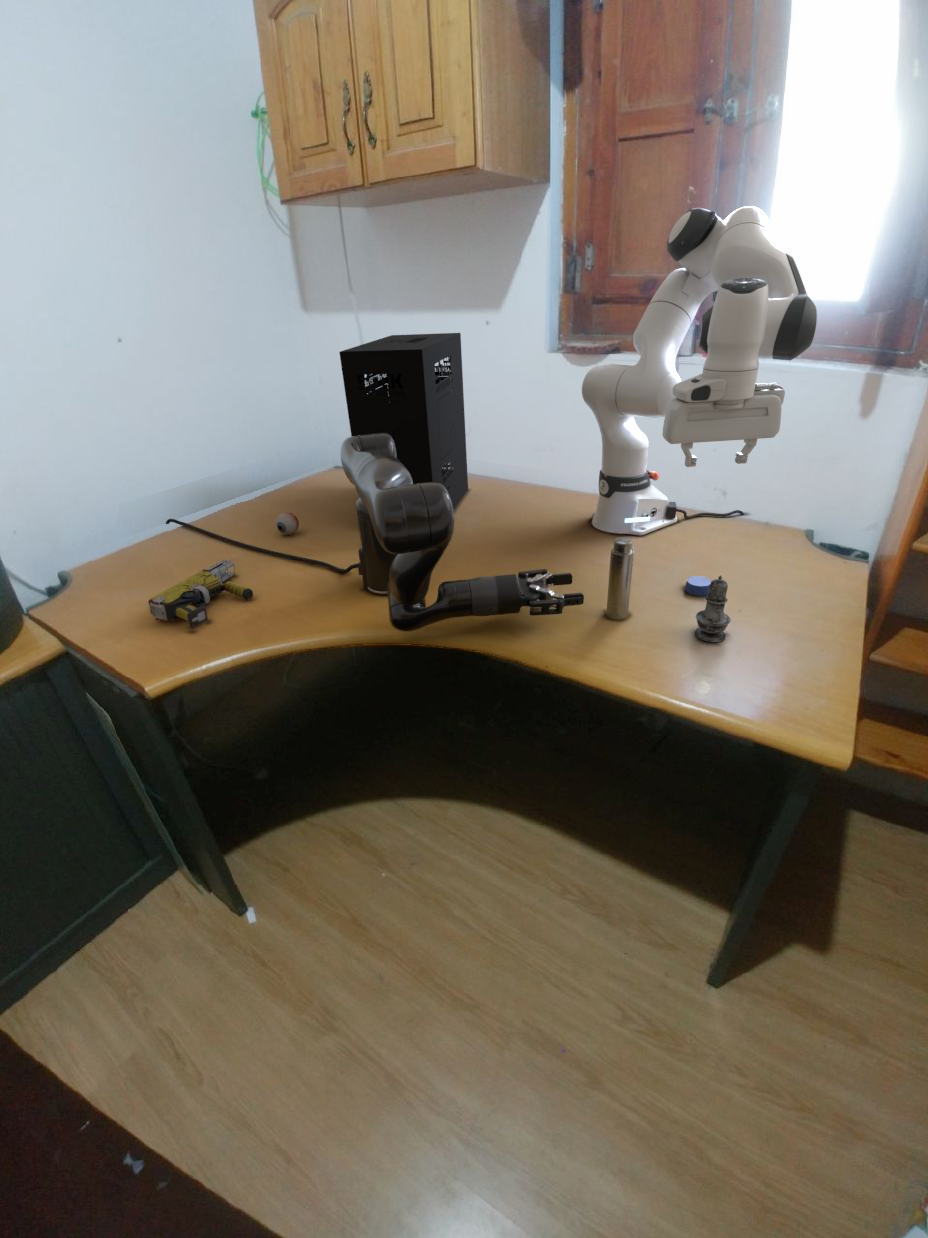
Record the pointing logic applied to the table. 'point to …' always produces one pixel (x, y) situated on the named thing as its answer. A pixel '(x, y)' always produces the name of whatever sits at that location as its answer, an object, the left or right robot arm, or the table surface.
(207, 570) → the toy gun
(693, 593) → the lid
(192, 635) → the table surface
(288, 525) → the eyeball
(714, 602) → the grey stone tiered figure
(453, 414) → the cardboard box
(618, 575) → the jar
